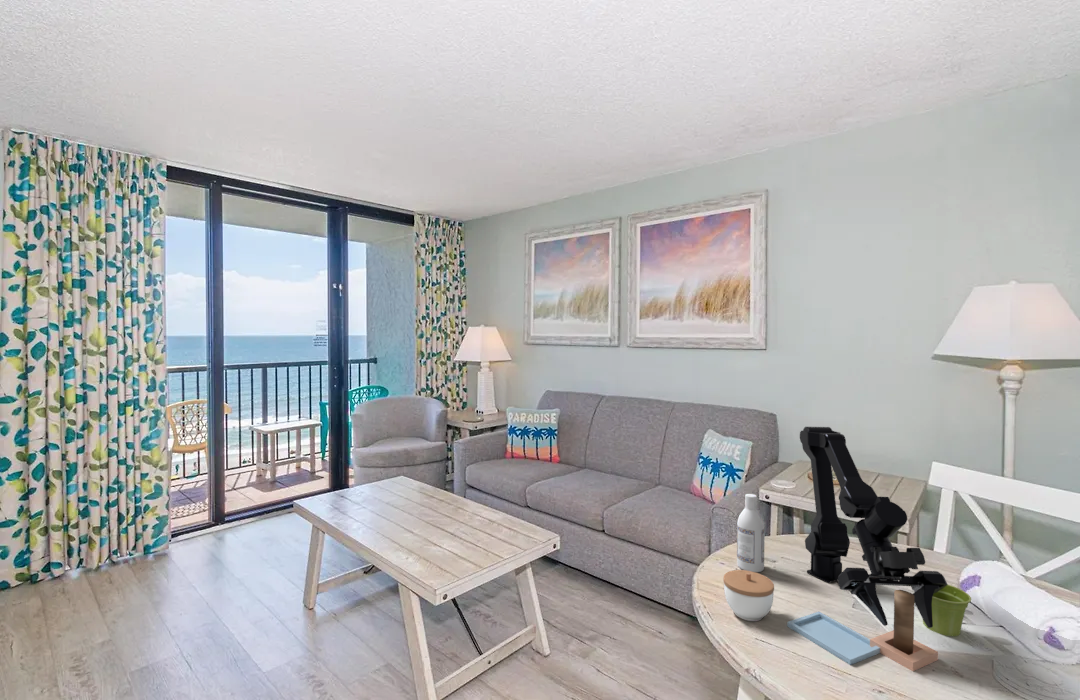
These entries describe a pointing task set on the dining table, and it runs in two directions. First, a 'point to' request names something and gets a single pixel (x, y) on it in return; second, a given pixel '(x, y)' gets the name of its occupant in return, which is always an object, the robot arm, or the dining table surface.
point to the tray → (834, 637)
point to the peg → (903, 621)
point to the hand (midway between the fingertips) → (908, 626)
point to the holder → (913, 661)
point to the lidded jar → (748, 594)
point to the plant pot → (948, 610)
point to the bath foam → (750, 537)
